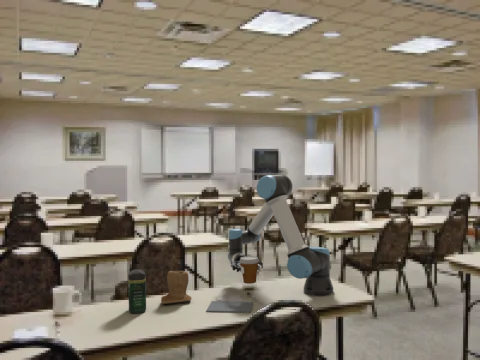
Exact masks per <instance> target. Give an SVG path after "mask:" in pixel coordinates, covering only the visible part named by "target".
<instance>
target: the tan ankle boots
mask: <svg viewBox="0 0 480 360" xmlns="http://www.w3.org/2000/svg"><path fill="white" fill-rule="evenodd" d="M189 281H190V280H189V273H188V271H185V270H173V271H172V270H171V271H170V270H169V271H168V273H167V277H166V282H167V287H168V294H166V295H162V296H161V299H160V301H161V305H169V304H177V303H184V302H185V303H186V302H189V301H192V296H190V295H188V294H187V288H188V285H189Z"/></svg>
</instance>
